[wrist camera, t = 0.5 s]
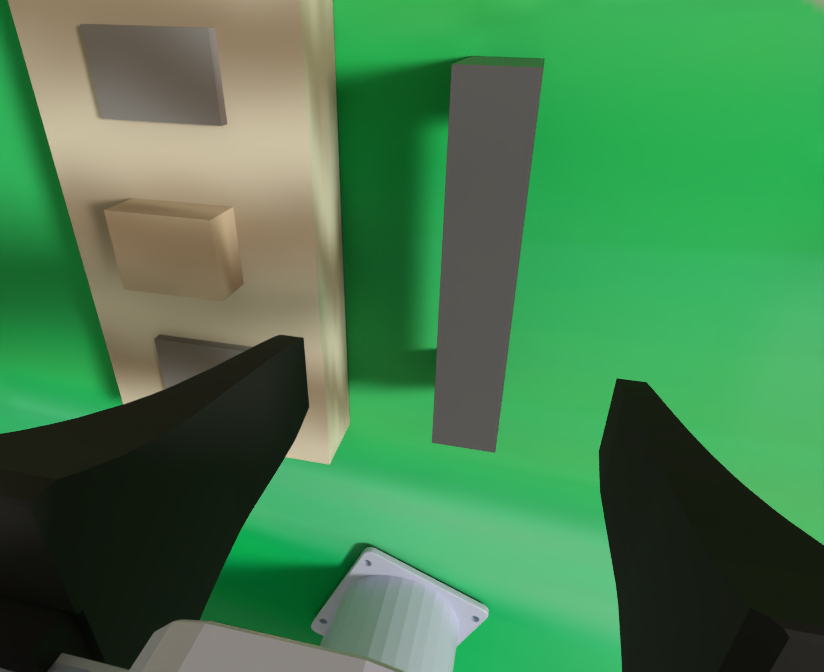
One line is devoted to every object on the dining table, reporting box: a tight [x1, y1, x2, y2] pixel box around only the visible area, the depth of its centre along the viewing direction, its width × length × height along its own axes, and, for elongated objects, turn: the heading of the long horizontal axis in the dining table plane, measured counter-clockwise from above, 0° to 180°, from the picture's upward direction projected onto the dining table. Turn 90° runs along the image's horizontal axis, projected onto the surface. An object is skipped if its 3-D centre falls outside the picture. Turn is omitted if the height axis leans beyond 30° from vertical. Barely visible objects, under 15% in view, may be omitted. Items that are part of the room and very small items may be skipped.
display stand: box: [8, 0, 350, 464], centre depth 22 cm, size 20×10×5 cm, turn 179°
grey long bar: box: [432, 56, 544, 452], centre depth 20 cm, size 13×2×4 cm, turn 179°
